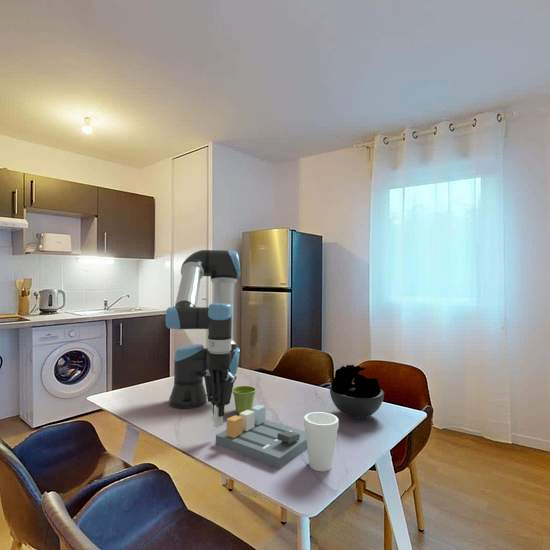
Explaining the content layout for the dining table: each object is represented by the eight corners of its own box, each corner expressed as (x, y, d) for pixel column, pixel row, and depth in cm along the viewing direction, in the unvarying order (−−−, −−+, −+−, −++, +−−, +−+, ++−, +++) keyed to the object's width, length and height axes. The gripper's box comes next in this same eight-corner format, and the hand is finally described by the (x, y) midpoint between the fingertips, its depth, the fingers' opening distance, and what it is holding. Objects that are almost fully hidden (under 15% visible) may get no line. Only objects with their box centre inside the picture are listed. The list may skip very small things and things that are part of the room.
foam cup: (301, 457, 103) (302, 412, 104) (332, 456, 104) (333, 411, 104) (307, 475, 94) (307, 425, 94) (341, 474, 95) (342, 424, 95)
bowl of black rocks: (348, 403, 149) (349, 358, 150) (393, 417, 135) (393, 367, 136) (318, 416, 135) (319, 366, 136) (365, 432, 121) (366, 376, 121)
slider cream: (239, 428, 114) (239, 413, 114) (247, 424, 118) (247, 409, 118) (246, 431, 113) (246, 415, 113) (254, 427, 116) (254, 411, 116)
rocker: (277, 439, 105) (277, 433, 105) (287, 436, 109) (288, 430, 110) (288, 442, 102) (289, 437, 103) (299, 440, 107) (299, 434, 107)
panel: (215, 444, 111) (215, 432, 111) (253, 424, 126) (254, 414, 126) (279, 469, 97) (279, 455, 97) (313, 443, 112) (313, 431, 112)
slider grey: (251, 422, 119) (251, 407, 119) (258, 419, 123) (258, 404, 123) (258, 425, 118) (258, 409, 118) (265, 421, 121) (265, 406, 121)
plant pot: (236, 417, 132) (237, 394, 132) (228, 409, 141) (228, 387, 141) (259, 413, 137) (260, 391, 137) (250, 406, 145) (250, 384, 145)
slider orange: (226, 435, 109) (226, 419, 110) (235, 431, 113) (235, 415, 113) (233, 438, 108) (234, 421, 108) (242, 433, 111) (242, 417, 111)
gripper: (196, 350, 115) (195, 424, 115) (226, 356, 108) (225, 434, 107) (213, 347, 121) (212, 417, 121) (242, 352, 114) (241, 426, 114)
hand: (218, 425), depth 114 cm, fingers closed
